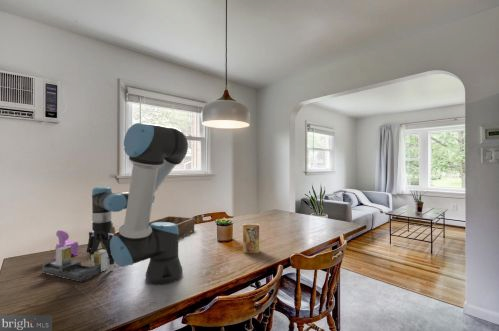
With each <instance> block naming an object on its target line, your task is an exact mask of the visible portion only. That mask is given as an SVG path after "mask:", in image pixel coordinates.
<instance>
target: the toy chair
mask: <svg viewBox="0 0 499 331" xmlns="http://www.w3.org/2000/svg"><path fill="white" fill-rule="evenodd" d="M55 235H56V237H57V239H58V243H57V244H56V245H55V250H56V249H58V248H61V247H64V246H69V247H71V254H73V255H72V256H76V255H78V256H79V243H78V241H72V240H69V236H70V235H69V233H68V232H67V231H65V230H61V229H59V230H57V231H56V234H55ZM54 254H55V255H54V257H53V259H56V253H54Z"/></svg>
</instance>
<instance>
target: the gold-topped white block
mask: <svg viewBox="0 0 499 331" xmlns="http://www.w3.org/2000/svg"><path fill="white" fill-rule="evenodd" d="M107 258H108V254H107V251H106V249H103V248H102V249H99V250H98V249H97V251H95V252H94V265H98V270H99V272H102V271H104V272H106V271H107ZM114 266H115V267H116V266H117V264H116V263H115V261H114ZM105 270H106V271H105ZM102 273H103V272H102Z"/></svg>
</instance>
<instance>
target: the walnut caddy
mask: <svg viewBox="0 0 499 331" xmlns="http://www.w3.org/2000/svg"><path fill="white" fill-rule="evenodd" d="M155 222H169V223H174V224H176V225H177V226H178V233H179V234H178V239H179V237H180V238H182V237H185V235H188V234H190V233H192V232H194V231H195V217H185V216H183V217H182V216H175V215H167V216H164V217H161V218H158V219H155V220H151V221H149V226H150V224H151V223H155Z"/></svg>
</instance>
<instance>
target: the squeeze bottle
mask: <svg viewBox="0 0 499 331" xmlns="http://www.w3.org/2000/svg"><path fill="white" fill-rule="evenodd" d="M110 233H111V234H114V233H115V234H116V233H117V232H116V227H115V226H114V223H113V222H112V227H111V229H110ZM107 241H108V240H107ZM100 246H101V248H102V249H104V250H106V249H105V246H104V244H103V243H102V242H100Z"/></svg>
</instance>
